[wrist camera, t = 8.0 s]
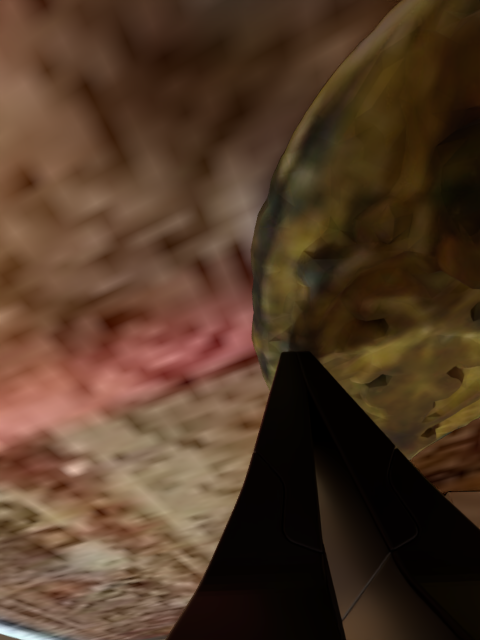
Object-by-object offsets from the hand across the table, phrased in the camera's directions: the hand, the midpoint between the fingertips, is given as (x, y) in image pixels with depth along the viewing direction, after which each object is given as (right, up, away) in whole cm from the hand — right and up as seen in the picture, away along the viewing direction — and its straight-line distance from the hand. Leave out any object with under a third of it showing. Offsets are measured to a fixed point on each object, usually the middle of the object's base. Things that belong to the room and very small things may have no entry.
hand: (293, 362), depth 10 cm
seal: (+3, +2, +1) cm, 4 cm away
